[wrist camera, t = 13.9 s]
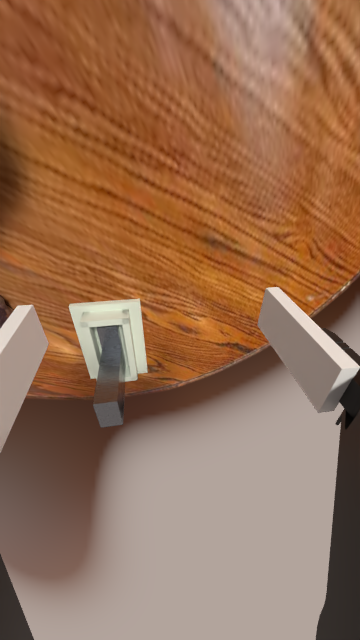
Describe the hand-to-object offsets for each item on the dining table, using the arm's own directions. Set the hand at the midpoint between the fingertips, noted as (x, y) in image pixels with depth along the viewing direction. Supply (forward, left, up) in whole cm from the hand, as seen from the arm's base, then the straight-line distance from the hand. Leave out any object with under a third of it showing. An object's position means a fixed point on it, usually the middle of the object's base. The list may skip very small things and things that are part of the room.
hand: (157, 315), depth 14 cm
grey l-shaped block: (-8, -23, -26) cm, 35 cm away
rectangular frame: (-8, -23, -27) cm, 36 cm away
